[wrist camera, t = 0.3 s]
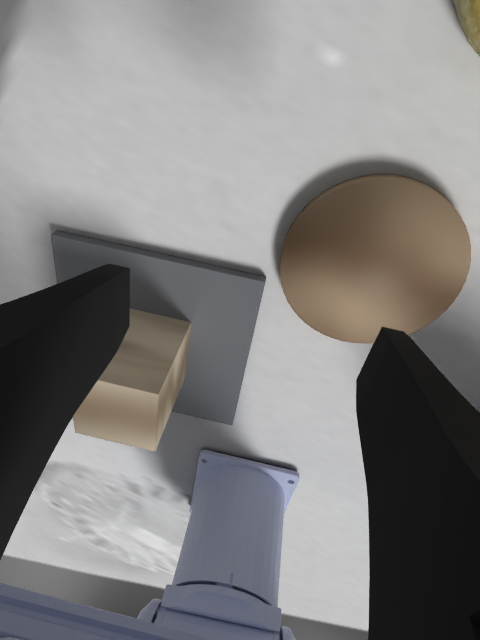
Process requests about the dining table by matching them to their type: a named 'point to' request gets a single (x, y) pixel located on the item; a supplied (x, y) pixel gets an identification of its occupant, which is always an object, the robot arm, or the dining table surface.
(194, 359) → the tile
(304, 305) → the cork coaster
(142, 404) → the maple block
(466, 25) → the bread roll
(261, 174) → the dining table surface
